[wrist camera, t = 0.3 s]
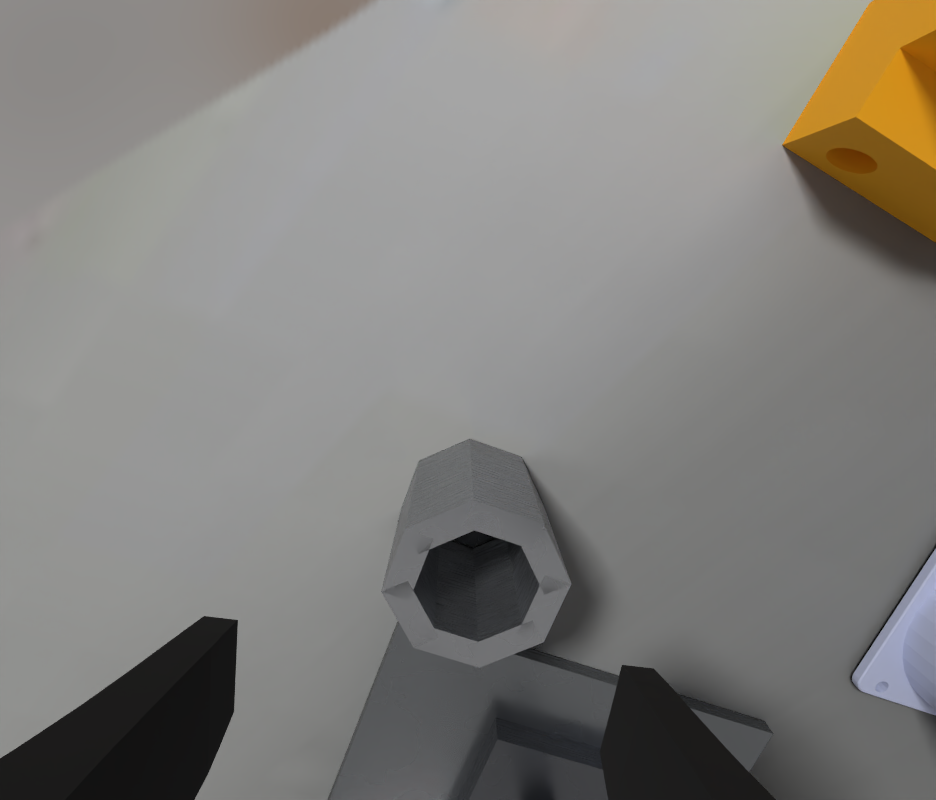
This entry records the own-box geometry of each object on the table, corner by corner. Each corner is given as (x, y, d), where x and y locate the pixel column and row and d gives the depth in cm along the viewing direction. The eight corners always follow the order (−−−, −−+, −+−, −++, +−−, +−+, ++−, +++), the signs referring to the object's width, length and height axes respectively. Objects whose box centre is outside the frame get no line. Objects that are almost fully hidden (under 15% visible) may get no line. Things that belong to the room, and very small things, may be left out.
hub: (557, 469, 19) (592, 539, 14) (508, 580, 20) (525, 681, 15) (432, 425, 18) (422, 483, 13) (388, 541, 19) (365, 633, 14)
